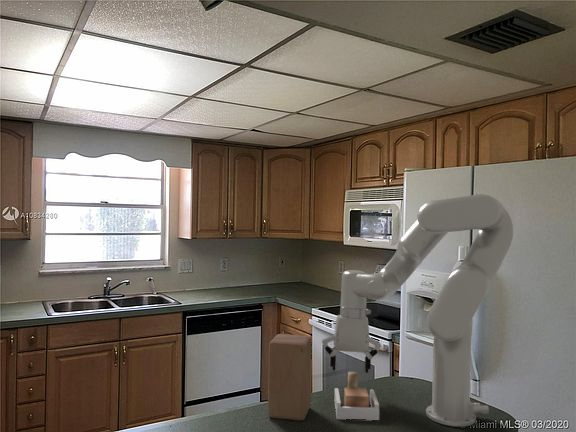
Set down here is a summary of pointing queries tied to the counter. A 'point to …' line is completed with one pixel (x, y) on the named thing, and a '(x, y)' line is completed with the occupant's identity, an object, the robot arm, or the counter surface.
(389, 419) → the counter surface
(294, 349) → the wooden block
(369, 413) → the white u-shaped bracket
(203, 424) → the counter surface
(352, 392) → the block
